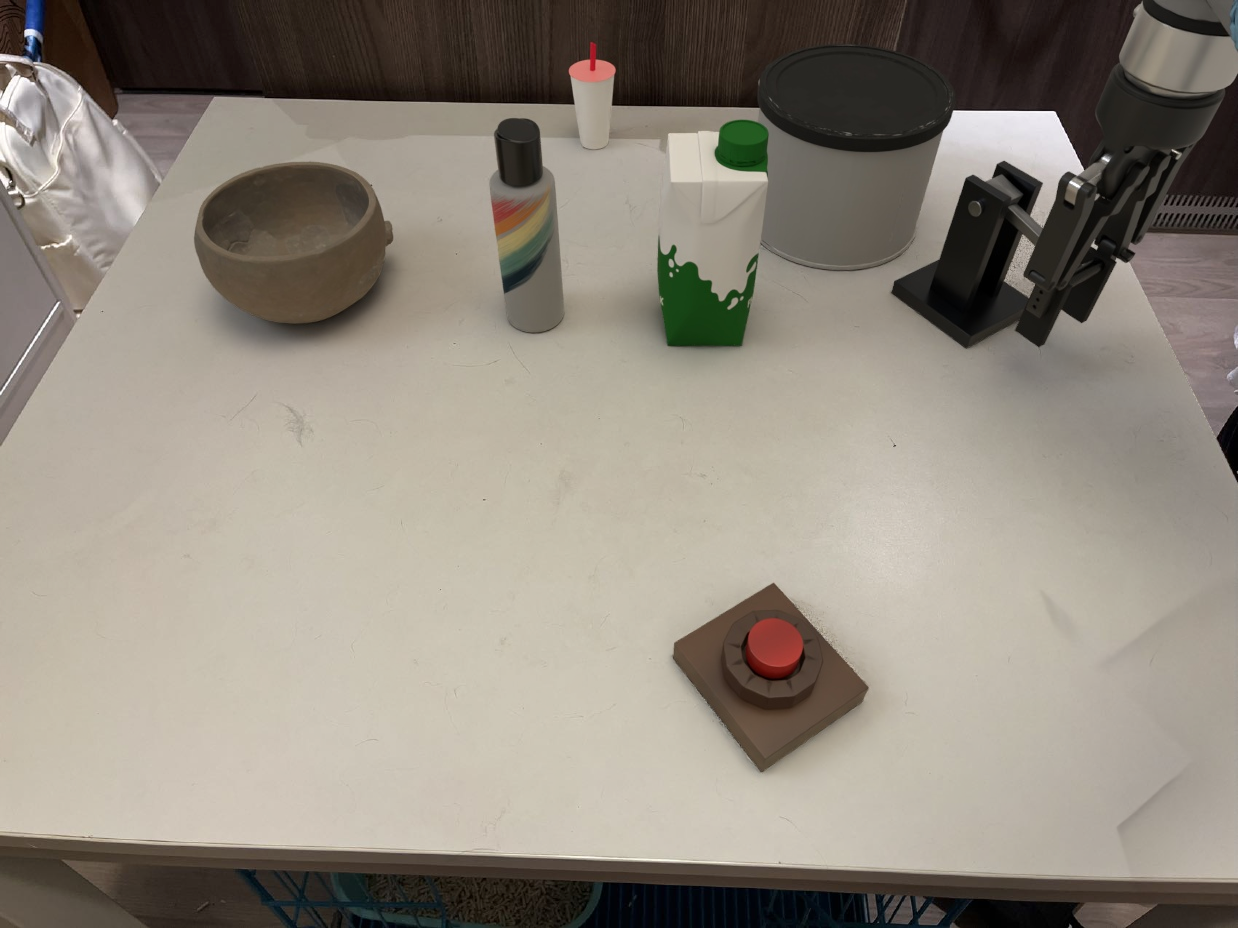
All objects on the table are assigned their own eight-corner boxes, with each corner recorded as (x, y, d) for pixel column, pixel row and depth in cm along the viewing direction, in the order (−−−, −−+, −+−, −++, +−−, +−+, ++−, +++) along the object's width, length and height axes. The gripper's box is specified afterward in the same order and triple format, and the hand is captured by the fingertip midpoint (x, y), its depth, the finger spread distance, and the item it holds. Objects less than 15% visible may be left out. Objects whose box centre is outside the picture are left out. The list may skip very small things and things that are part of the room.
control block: (862, 701, 61) (875, 674, 58) (761, 772, 58) (768, 748, 55) (770, 597, 67) (776, 568, 64) (672, 657, 64) (674, 629, 61)
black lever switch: (1030, 314, 88) (1085, 190, 77) (966, 348, 84) (1014, 225, 74) (953, 261, 93) (995, 140, 82) (890, 292, 90) (925, 170, 79)
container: (869, 295, 90) (905, 159, 78) (711, 230, 97) (722, 97, 85) (945, 207, 99) (986, 75, 88) (796, 154, 107) (816, 26, 95)
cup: (616, 130, 110) (615, 32, 101) (616, 153, 107) (615, 54, 98) (572, 130, 110) (567, 32, 101) (572, 154, 107) (566, 54, 98)
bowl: (412, 239, 96) (394, 154, 89) (379, 351, 85) (354, 265, 77) (255, 237, 97) (222, 153, 89) (200, 348, 85) (158, 263, 78)
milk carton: (752, 352, 84) (779, 161, 69) (656, 352, 84) (662, 161, 69) (744, 293, 90) (768, 104, 75) (654, 293, 90) (660, 105, 75)
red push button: (810, 661, 60) (814, 648, 58) (768, 689, 58) (771, 676, 57) (775, 622, 61) (779, 608, 60) (734, 647, 60) (737, 635, 59)
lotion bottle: (526, 290, 91) (505, 102, 75) (575, 306, 89) (563, 117, 74) (496, 323, 87) (467, 134, 72) (545, 341, 86) (527, 150, 70)
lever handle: (1095, 279, 78) (1111, 260, 75) (1057, 300, 76) (1072, 281, 74) (999, 189, 82) (1012, 169, 80) (961, 206, 80) (973, 186, 78)
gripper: (1201, 21, 68) (1082, 269, 86) (1042, 87, 62) (949, 339, 79) (1295, 60, 64) (1150, 311, 82) (1135, 135, 58) (1015, 389, 75)
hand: (1051, 325), depth 80 cm, fingers closed on lever handle, 5 cm apart
